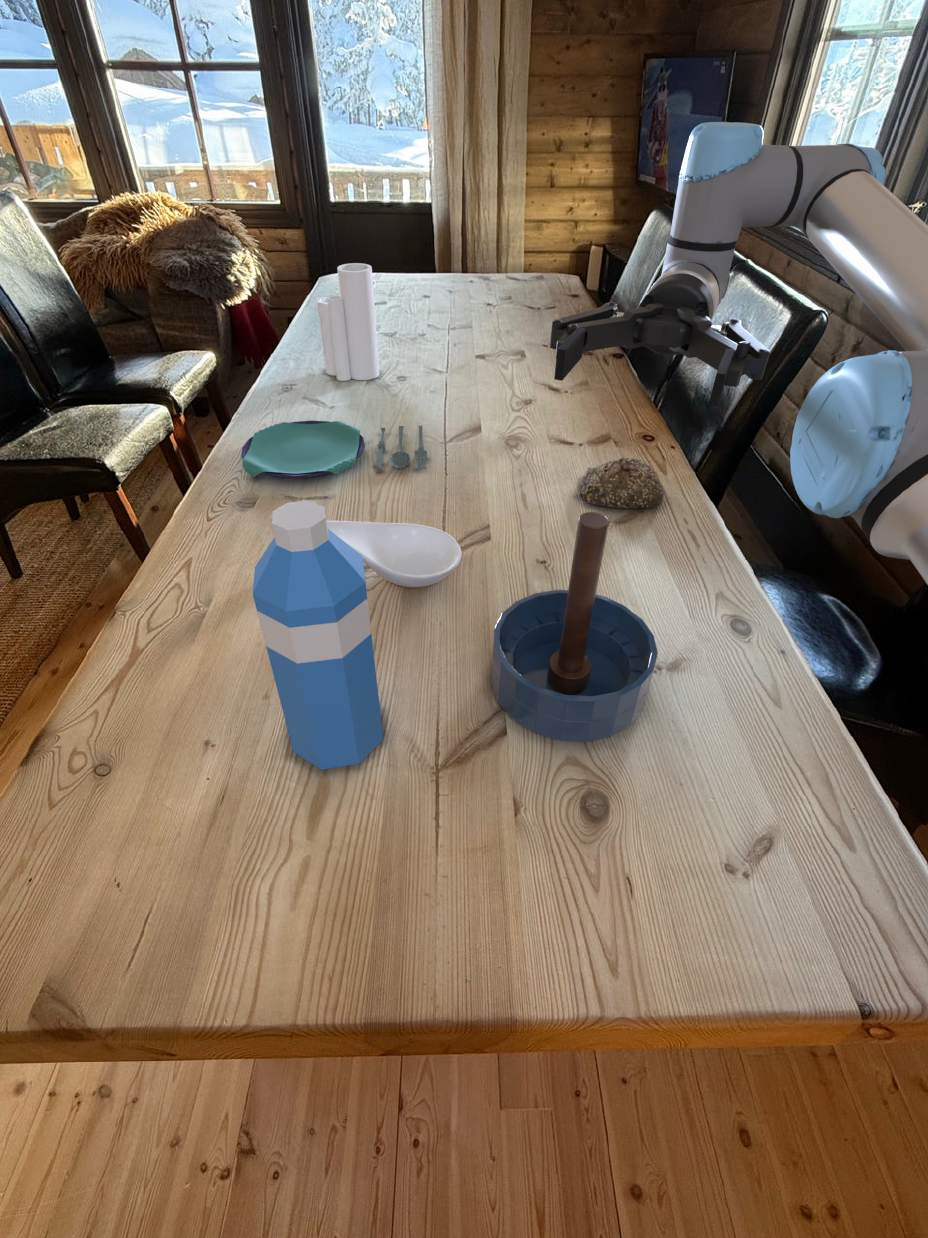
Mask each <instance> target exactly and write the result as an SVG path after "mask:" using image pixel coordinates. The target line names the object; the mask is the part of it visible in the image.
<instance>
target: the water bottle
mask: <svg viewBox="0 0 928 1238" xmlns="http://www.w3.org/2000/svg"><path fill="white" fill-rule="evenodd" d="M327 521H328V519H327V515H326V507H325V506H323V505H321V504H319V503H316V502H314V501H311V500H301V501H289V502H286V503H284V504H283V505H281V506H279V507H277V508H276V509H275V510H272V512H271V526H272V530H273V535H274V537H273V539H272V541H271V542H270V543H269V544H268V546H267V547H266V549H265V551H264V552H263V554H262V555H261V557H260V558H259V560H258V561H257V563H256V564H255V566H254V571H253V585H252V597H253V598H252V599H253V602H254V605H255V610H256V613H257V616H258V617H257V618H258V621H259V625H260V628H261V632H262V635H263V640H264V644H265V648H266V651H267V655H268V659H269V663H270V667H271V671H272V675H273V678H274V679H273V680H274V682H275V686H276V690H277V693H278V698H279V701H280V705H281V709H282V713H283V717H284V721H285V725H286V729H287V733H288V737H289V740H290V743H291V748H292V751H293V753H294V754H295V755H297V756H299V757H300V758H302V759H303V760H305V761H306V762H308V763H310V764H311V765H312V766H314V767H316V768H317V769H319V770H320V771H321V770H328V769H334V768H342V767H349V766H355V765H360V764H362V762H363V761H364V760H365V759H366V758H367V757H368V756H369V755H370V754H371V753H372V752H373V750H375V748H377V747H378V746H379V745H380V744H381V742H382V741H384V733H383V723H382V715H381V706H380V705H381V704H380V698H379V688H378V680H377V671H376V663H375V653H374V645H373V638H372V637H373V636H372V629H371V628H372V626H371V618H370V609H369V600H368V592H367V591H368V590H367V584H366V583H367V582H366V575H365V567H364V562H363V558H362V555H361V554H359V553H358V552H357V551H356V550H354V549H353V548H352V547H350V546H349V545H348V544H347V543H345V542H344V541H343V540H342V539H340V538H339V537H338V536H337V535H335V534H334V533H333V532H332V531H330V530H329V529H328V526H327Z"/></svg>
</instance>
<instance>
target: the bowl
mask: <svg viewBox="0 0 928 1238" xmlns="http://www.w3.org/2000/svg"><path fill="white" fill-rule="evenodd" d="M567 596H568V589H554V590H547V591H541V592H537V593H533V594H530V595H528V596H526V597H523V598H521V599H518V600H516V601H515V602H514V603H512V604H511V605H510V606H509V607H507V608H506V609H505V610H504V611H502V612H501V615H500V617H499V619H498V620H497V622H496V624H495V625H494V628H493V642H492V643H493V644H492V662H491V682H490V684H491V688H492V691H493V694H494V696H495V698H496V701H497V703H498V705H500V707H501V708H502V709H503V710H504V711H505V712H506V713H507V715H508V716H509V717H510V718H511V719H512V720H514V721H515V722H516V723H518V724H519V725H521V726H523V727H525V728H526V729H528V730H529V731H531V732H533V733H534V734H538V735H541V736H544V737H548V738H551V739H554V740H558V741H565V742H582V743H586V742H592V741H597V740H602V739H606V738H611V737H613V736H614V735H616V734H617V733H620V732H622V731H623V730H625V729H627V728H628V727H630V726H631V725H632V724H633V723H634V721H635V720H636V719H637V718H638V717H639V715H641V713H642V711H643V710H644V706H645V703H646V699H647V695H648V693H649V689H650V686H651V681H652V678H653V675H654V671H655V667H656V663H657V659H658V654H659V651H658V648H657V647H658V646H657V642H656V639H655V636H654V634H653V633H652V632H653V631H651V630H650V627H648V625H647V623H646V622H645V621H644V620H643V618H642V617H640V616H639V615H638V614H637V613H635V612H634V611H633V610H631V609H630V608H629V607H627V606H626V605H624V604H622V603H620V602H618V601H616V600H613V599H611V598H609V597H607V596H604V595H601V594H597V593H596V596H595V602H594V607H593V613H592V619H591V624H590V630H589V635H588V641H587V646H586V652H585V655H586V656H587V657H588V658H589V660H590V661H591V664H592V668H591V673H590V679H589V684H588V687H587V688H586V690H585V691H583V692H582V693H580V694H577V695H565V694H561V693H558V692H556V691H555V690H553V689H552V688H551V687H550V686H549V684H548V681H547V674H548V666H549V660H550V657H551V656H552V655H553V654H554V653H555V652H557V651H559V650H560V644H561V637H562V630H563V623H564V616H565V609H566V602H567Z"/></svg>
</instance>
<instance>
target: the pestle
mask: <svg viewBox="0 0 928 1238" xmlns="http://www.w3.org/2000/svg"><path fill="white" fill-rule="evenodd" d="M609 524H610V521H609V518H608V517H607V516H606V515H605V514H603V513H600V512H595V511H587V512H584V513H582V514H580V515H579V516H578V522H577V526H576V535H575V540H574V548H573V554H572V563H571V568H570V576H569V583H568V589H567V590H568V596H567V602H566V609H565V616H564V623H563V630H562V637H561V644H560V650H559V651H557V652H555V653H554V654H553V655H552V656H551V657H550V660H549V666H548V674H547V681H548V684H549V686H550V687H551V688H552V689H553V690H555V691H556V692H558V693H561V694H565V695H577V694H580V693H582V692H583V691H585V690H586V688H587V687H588V684H589V679H590V673H591V668H592V664H591V661H590V660H589V658H588V657H587V656H586V655H585V652H586V646H587V641H588V635H589V630H590V624H591V619H592V613H593V607H594V602H595V596H596V594H597V590H598V584H599V580H600V573H601V568H602V563H603V557H604V551H605V547H606V540H607V536H608V529H609Z"/></svg>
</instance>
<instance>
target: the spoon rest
mask: <svg viewBox="0 0 928 1238" xmlns="http://www.w3.org/2000/svg"><path fill="white" fill-rule="evenodd" d="M327 526H328V529H329V530H330V531H332V532H333V533H334V534H335V535H337V536H338V537H339V538H340V539H342V540H343V541H344V542H345V543H347V544H348V545H349V546H350V547H352V548H353V549H354V550H356V551H357V552H358V553H359V554H361V555H362V558H363V564H365V565H366V566H367V567H368V568H370V569H371V570H372V571H373V572H374V573H375V574H376V575H378V577H380V578H382V579H384V581H387V582H389V583H392V584H394V585H398V586H400V587H405V588H423V587H428V586H432V585H435V584H437V583H439V582H441V581H443V580H445V579H446V578H447V577H449V576H450V575H451V574H453V572H454V571H455V570H456V569H457V568H458V567H459V565H460V563H461V560H462V548H461V546H460V543H458V541H457V539H455V538H454V537H453V536H452V535H451V534H449V533H447V532H445V531H444V530H442V529H438V528H435V527H432V526H428V525H423V524H417V523H406V522H405V523H402V522H374V521H373V522H372V521H354V520H353V521H352V520H351V521H349V520H327Z"/></svg>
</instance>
